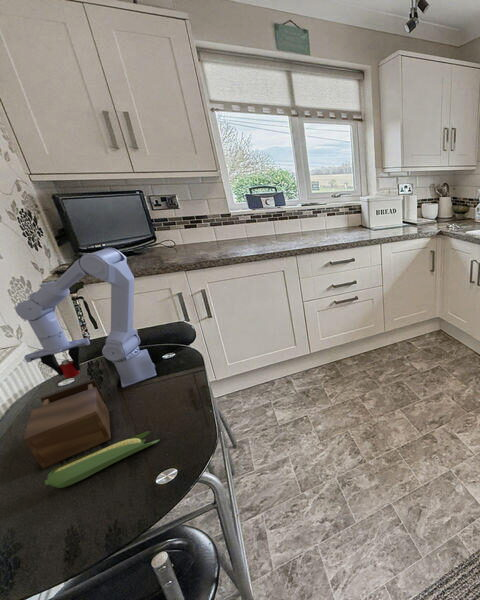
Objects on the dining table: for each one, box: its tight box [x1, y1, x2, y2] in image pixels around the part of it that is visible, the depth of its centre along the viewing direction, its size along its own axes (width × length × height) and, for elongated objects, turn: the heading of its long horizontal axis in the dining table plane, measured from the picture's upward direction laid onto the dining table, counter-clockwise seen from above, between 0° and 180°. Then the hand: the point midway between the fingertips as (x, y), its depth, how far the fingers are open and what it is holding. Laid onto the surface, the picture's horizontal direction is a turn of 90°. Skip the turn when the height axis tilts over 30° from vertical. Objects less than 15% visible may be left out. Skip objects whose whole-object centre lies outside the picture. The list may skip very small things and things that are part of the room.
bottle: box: [59, 359, 81, 379], centre depth 106 cm, size 4×4×6 cm
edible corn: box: [44, 430, 161, 489], centre depth 76 cm, size 5×20×5 cm, turn 130°
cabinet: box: [23, 387, 112, 469], centre depth 84 cm, size 15×13×9 cm
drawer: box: [40, 378, 106, 406], centre depth 92 cm, size 18×11×7 cm, turn 42°
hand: (70, 371), depth 106 cm, fingers closed on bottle, 3 cm apart
